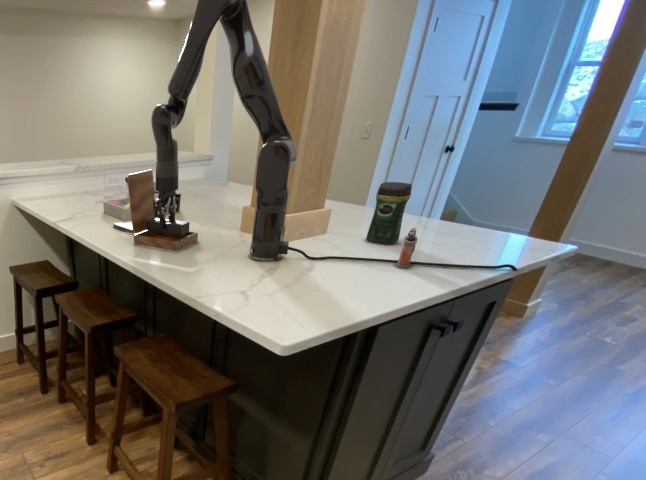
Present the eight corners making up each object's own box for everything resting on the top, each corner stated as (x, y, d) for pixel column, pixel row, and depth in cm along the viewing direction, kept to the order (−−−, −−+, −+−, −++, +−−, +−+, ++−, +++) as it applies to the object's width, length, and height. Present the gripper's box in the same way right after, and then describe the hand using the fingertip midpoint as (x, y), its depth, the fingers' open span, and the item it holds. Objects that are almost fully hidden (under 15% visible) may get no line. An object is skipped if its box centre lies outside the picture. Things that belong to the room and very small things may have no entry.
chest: (197, 242, 158) (198, 232, 156) (176, 252, 149) (176, 241, 147) (156, 236, 168) (155, 226, 166) (134, 245, 159) (133, 234, 157)
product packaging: (180, 212, 201) (180, 200, 198) (125, 221, 191) (124, 208, 188) (155, 204, 217) (155, 193, 215) (103, 212, 207) (103, 201, 204)
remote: (189, 231, 154) (189, 221, 152) (181, 234, 151) (181, 224, 149) (154, 227, 162) (153, 217, 160) (146, 230, 159) (145, 219, 157)
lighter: (408, 269, 127) (419, 233, 122) (395, 267, 129) (405, 232, 123) (410, 261, 133) (421, 227, 127) (398, 260, 134) (408, 225, 129)
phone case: (112, 227, 183) (131, 234, 171) (112, 223, 182) (131, 230, 170) (130, 224, 187) (151, 231, 175) (130, 220, 186) (150, 226, 174)
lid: (152, 169, 156) (140, 170, 159) (128, 174, 147) (116, 175, 150) (156, 225, 166) (145, 225, 169) (134, 233, 157) (122, 233, 160)
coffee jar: (400, 241, 150) (417, 181, 140) (391, 246, 146) (408, 185, 136) (371, 236, 156) (385, 179, 146) (361, 241, 152) (376, 182, 142)
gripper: (164, 178, 140) (164, 233, 149) (188, 172, 149) (187, 224, 159) (145, 177, 144) (146, 231, 153) (169, 171, 153) (169, 222, 163)
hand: (167, 227), depth 156 cm, fingers closed on remote, 5 cm apart
